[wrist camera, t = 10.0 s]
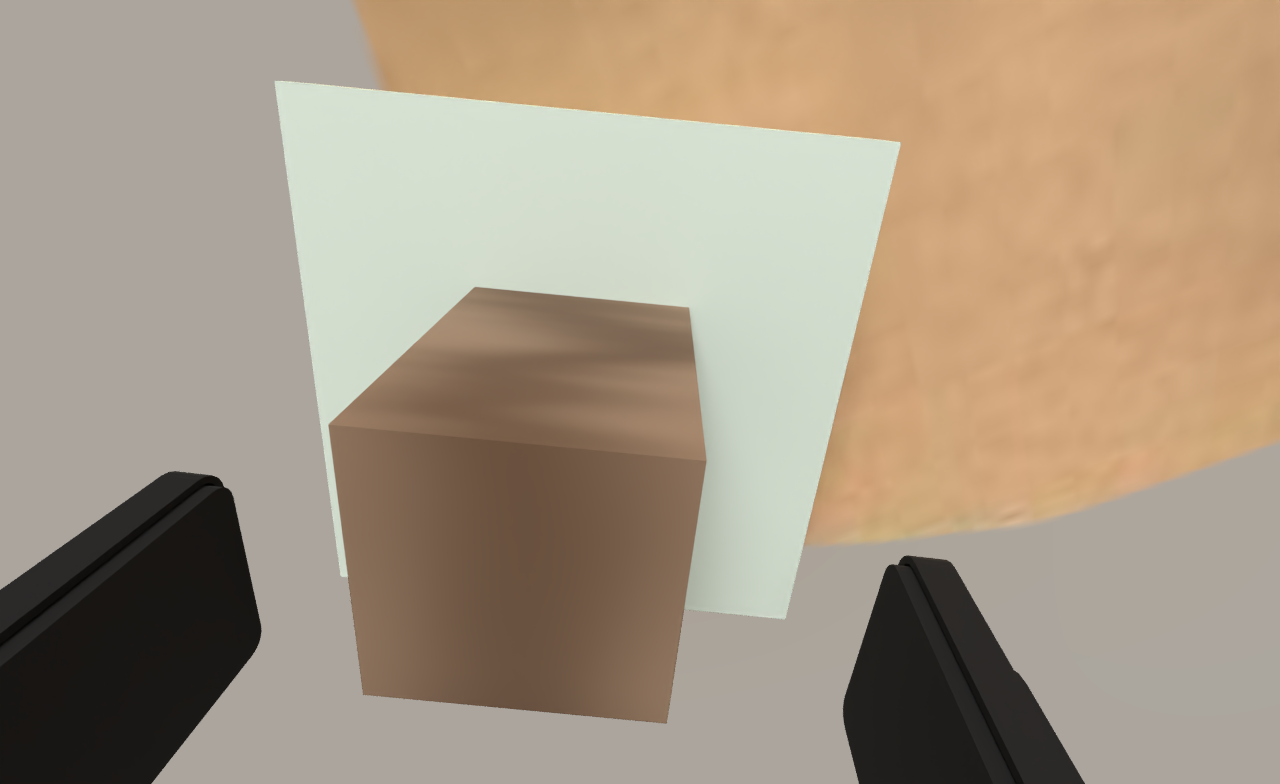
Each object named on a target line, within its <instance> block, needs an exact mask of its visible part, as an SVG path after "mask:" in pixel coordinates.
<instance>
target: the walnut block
mask: <svg viewBox="0 0 1280 784" xmlns="http://www.w3.org/2000/svg"><path fill="white" fill-rule="evenodd" d="M328 427H329V435H330V442H331V450H332V458H333V465H334V473H335V481H336V489H337V496H338V504H339V512H340V519H341V527H342V535H343V543H344V550H345V558H346V566H347V574H348V581H349V589H350V596H351V604H352V612H353V619H354V627H355V635H356V642H357V651H358V659H359V666H360V674H361V682H362V689H363V695H373V696H383V697H393V698H404V699H414V700H425V701H435V702H446V703H457V704H467V705H477V706H478V705H479V706H488V707H498V708H510V709H520V710H530V711H540V712H541V711H542V712H551V713H562V714H572V715H583V716H593V717H604V718H614V719H625V720H635V721H646V722H656V723H667V717H668V711H669V705H670V698H671V692H672V685H673V678H674V672H675V664H676V659H677V652H678V645H679V639H680V633H681V626H682V619H683V613H684V606H685V600H686V593H687V587H688V580H689V573H690V567H691V560H692V554H693V547H694V541H695V534H696V528H697V521H698V514H699V508H700V501H701V495H702V488H703V482H704V475H705V469H706V462H707V459H706V451H705V442H704V433H703V425H702V416H701V407H700V398H699V390H698V381H697V372H696V364H695V355H694V346H693V337H692V329H691V320H690V311H689V307H679V306H669V305H658V304H648V303H638V302H627V301H617V300H606V299H596V298H586V297H575V296H565V295H555V294H544V293H534V292H524V291H513V290H503V289H492V288H482V287H474V288H473V289H472V290H471V291H470V292H469V293H468V294H467V295H465V296H464V297H463V298H462V299H461V300H460V301H459V302H458V303H457V304H456V305H455V306H454V307H453V308H452V309H451V310H450V311H448V312H447V313H446V314H445V315H444V316H443V317H442V318H441V319H440V320H439V321H438V322H437V323H436V324H435V325H434V326H433V327H431V328H430V329H429V330H428V331H427V332H426V333H425V334H424V335H423V336H422V337H421V338H420V339H419V340H418V341H417V342H416V343H414V344H413V345H412V346H411V347H410V348H409V349H408V350H407V351H406V352H405V353H404V354H403V355H402V356H401V357H400V358H398V359H397V360H396V361H395V362H394V363H393V364H392V365H391V366H390V367H389V368H388V369H387V370H386V371H385V372H384V373H383V374H381V375H380V376H379V377H378V378H377V379H376V380H375V381H374V382H373V383H372V384H371V385H370V386H369V387H368V388H367V389H366V390H364V391H363V392H362V393H361V394H360V395H359V396H358V397H357V398H356V399H355V400H354V401H353V402H352V403H351V404H350V405H349V406H347V407H346V408H345V409H344V410H343V411H342V412H341V413H340V414H339V415H338V416H337V417H336V418H335V419H334V420H333V421H332V422H330V423H329V424H328Z"/></svg>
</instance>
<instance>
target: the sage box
mask: <svg viewBox="0 0 1280 784" xmlns="http://www.w3.org/2000/svg"><path fill="white" fill-rule="evenodd" d="M275 88H276V94H277V103H278V110H279V118H280V125H281V132H282V140H283V148H284V155H285V163H286V170H287V178H288V185H289V192H290V200H291V207H292V215H293V223H294V230H295V237H296V245H297V253H298V260H299V268H300V275H301V283H302V290H303V298H304V305H305V313H306V320H307V327H308V335H309V343H310V350H311V358H312V365H313V372H314V380H315V388H316V395H317V403H318V410H319V417H320V425H321V431H322V440H323V447H324V455H325V463H326V470H327V476H328V485H329V492H330V499H331V508H332V515H333V522H334V530H335V538H336V545H337V552H338V560H339V567H340V575H341V576H342V577H348V574H347V566H346V558H345V550H344V543H343V535H342V527H341V519H340V512H339V504H338V496H337V489H336V481H335V473H334V465H333V458H332V450H331V442H330V435H329V427H328V424H329V423H330V422H332V421H333V420H334V419H335V418H336V417H337V416H338V415H339V414H340V413H341V412H342V411H343V410H344V409H345V408H346V407H347V406H349V405H350V404H351V403H352V402H353V401H354V400H355V399H356V398H357V397H358V396H359V395H360V394H361V393H362V392H363V391H364V390H366V389H367V388H368V387H369V386H370V385H371V384H372V383H373V382H374V381H375V380H376V379H377V378H378V377H379V376H380V375H381V374H383V373H384V372H385V371H386V370H387V369H388V368H389V367H390V366H391V365H392V364H393V363H394V362H395V361H396V360H397V359H398V358H400V357H401V356H402V355H403V354H404V353H405V352H406V351H407V350H408V349H409V348H410V347H411V346H412V345H413V344H414V343H416V342H417V341H418V340H419V339H420V338H421V337H422V336H423V335H424V334H425V333H426V332H427V331H428V330H429V329H430V328H431V327H433V326H434V325H435V324H436V323H437V322H438V321H439V320H440V319H441V318H442V317H443V316H444V315H445V314H446V313H447V312H448V311H450V310H451V309H452V308H453V307H454V306H455V305H456V304H457V303H458V302H459V301H460V300H461V299H462V298H463V297H464V296H465V295H467V294H468V293H469V292H470V291H471V290H472V289H473V288H474V287H482V288H492V289H503V290H513V291H524V292H534V293H544V294H555V295H565V296H575V297H586V298H596V299H606V300H617V301H627V302H638V303H648V304H658V305H669V306H679V307H689V311H690V320H691V329H692V337H693V346H694V355H695V364H696V372H697V381H698V390H699V398H700V407H701V416H702V425H703V433H704V442H705V451H706V459H707V462H706V469H705V475H704V482H703V488H702V495H701V501H700V508H699V514H698V521H697V528H696V534H695V541H694V547H693V554H692V560H691V567H690V573H689V580H688V587H687V593H686V600H685V606H684V610H693V611H703V612H713V613H724V614H734V615H745V616H755V617H765V618H775V619H786V614H787V610H788V606H789V602H790V598H791V594H792V590H793V586H794V582H795V577H796V573H797V569H798V565H799V560H800V557H801V552H802V549H803V544H804V540H805V536H806V532H807V528H808V524H809V520H810V516H811V511H812V507H813V503H814V499H815V495H816V491H817V487H818V483H819V479H820V474H821V470H822V466H823V462H824V458H825V454H826V450H827V446H828V441H829V437H830V433H831V429H832V425H833V421H834V417H835V413H836V408H837V404H838V400H839V396H840V392H841V388H842V384H843V380H844V375H845V371H846V367H847V363H848V359H849V355H850V351H851V347H852V342H853V338H854V334H855V330H856V326H857V322H858V318H859V314H860V310H861V305H862V301H863V297H864V293H865V289H866V285H867V281H868V277H869V272H870V268H871V264H872V260H873V256H874V252H875V248H876V244H877V239H878V235H879V231H880V227H881V223H882V219H883V215H884V211H885V206H886V202H887V198H888V194H889V190H890V186H891V182H892V178H893V174H894V169H895V165H896V161H897V157H898V153H899V149H900V145H901V142H894V141H888V140H879V139H868V138H858V137H848V136H838V135H828V134H818V133H808V132H798V131H787V130H777V129H767V128H757V127H747V126H737V125H727V124H717V123H706V122H696V121H686V120H676V119H666V118H656V117H646V116H636V115H625V114H615V113H605V112H595V111H585V110H575V109H565V108H555V107H544V106H534V105H524V104H514V103H504V102H494V101H484V100H474V99H464V98H453V97H443V96H433V95H423V94H413V93H403V92H393V91H383V90H372V89H362V88H352V87H342V86H332V85H322V84H311V83H302V82H286V81H275Z"/></svg>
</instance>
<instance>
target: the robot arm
mask: <svg viewBox="0 0 1280 784" xmlns="http://www.w3.org/2000/svg"><path fill="white" fill-rule="evenodd" d="M260 637H261V623H260V619H259V614H258V609H257V605H256V600H255V596H254V591H253V587H252V582H251V577H250V573H249V568H248V563H247V558H246V554H245V549H244V545H243V540H242V536H241V531H240V526H239V522H238V517H237V513H236V507H235V503H234V498H233V495H232V493H231V491H230V490H229V489H227V488H225V487H224V486H223V483H222V482H221V480H220V479H219V478H217V477H215V476H212V475H203V474H194V473H186V472H176V471H174V472H168V473H166V474H164V475H162V476H160V477H159V478H158V479H156V480H155V481H154V482H152V483H150V484H149V485H148V486H146V487H145V488H144V489H142V490H141V491H139V492H138V493H137V494H135V495H134V496H132V497H131V498H129V499H128V500H127V501H125V502H124V503H122V504H121V505H120V506H118V507H117V508H115V509H114V510H112V511H111V512H110V513H108V514H107V515H105V516H104V517H103V518H101V519H100V520H98V521H97V522H96V523H94V524H93V525H91V526H90V527H89V528H87V529H86V530H84V531H83V532H81V533H80V534H79V535H77V536H76V537H75V538H73V539H72V540H70V541H69V542H67V543H66V544H64V545H63V546H62V547H60V548H59V549H57V550H56V551H55V552H53V553H52V554H50V555H49V556H48V557H46V558H45V559H43V560H42V561H41V562H39V563H38V564H37V565H35V566H34V567H32V568H31V569H29V570H28V571H27V572H25V573H24V574H22V575H21V576H20V577H18V578H17V579H15V580H14V581H12V582H11V583H10V584H8V585H7V586H5V587H4V588H2V589H1V590H0V784H151V783H152V782H153V781H154V780H155V778H156V777H157V776H158V775H159V773H160V772H161V771H162V769H163V768H164V767H165V766H166V764H167V763H168V762H169V760H170V759H171V758H172V757H173V755H174V754H175V753H176V752H177V750H178V749H179V748H180V746H181V745H182V744H183V743H184V741H185V740H186V739H187V738H188V736H189V735H190V734H191V733H192V731H193V730H194V729H195V727H196V726H197V725H198V724H199V722H200V721H201V720H202V719H203V717H204V716H205V715H206V713H207V712H208V711H209V710H210V708H211V707H212V706H213V705H214V703H215V702H216V701H217V700H218V698H219V697H220V696H221V694H222V693H223V692H224V691H225V689H226V688H227V687H228V686H229V684H230V683H231V682H232V680H233V679H234V678H235V677H236V675H237V674H238V673H239V672H240V670H241V669H242V668H243V666H244V665H245V664H246V663H247V661H248V660H249V659H250V658H251V656H252V655H253V653H254V652H255V650H256V648H257V646H258V644H259V641H260ZM843 717H844V725H845V730H846V734H847V738H848V741H849V746H850V750H851V754H852V757H853V761H854V765H855V769H856V773H857V777H858V781H859V784H1085V783H1084V781H1083V780H1082V778H1081V776H1080V775H1079V773H1078V771H1077V769H1076V768H1075V766H1074V764H1073V763H1072V761H1071V759H1070V758H1069V756H1068V754H1067V752H1066V751H1065V749H1064V747H1063V745H1062V744H1061V742H1060V740H1059V739H1058V737H1057V735H1056V733H1055V732H1054V730H1053V728H1052V727H1051V725H1050V723H1049V721H1048V720H1047V718H1046V716H1045V715H1044V713H1043V712H1042V709H1041V708H1040V706H1039V704H1038V703H1037V701H1036V699H1035V698H1034V696H1033V694H1032V692H1031V691H1030V689H1029V687H1028V686H1027V684H1026V683H1025V681H1024V680H1023V679H1022V677H1021V676H1020V675H1019V674H1018V673H1017V672H1016V671H1014V670H1013V668H1012V666H1011V664H1010V663H1009V661H1008V659H1007V658H1006V656H1005V654H1004V652H1003V650H1002V649H1001V647H1000V645H999V644H998V642H997V641H996V639H995V637H994V635H993V633H992V631H991V630H990V628H989V626H988V624H987V623H986V621H985V620H984V617H983V616H982V614H981V612H980V611H979V609H978V607H977V605H976V604H975V602H974V600H973V599H972V597H971V595H970V593H969V591H968V590H967V588H966V587H965V584H964V583H963V581H962V579H961V578H960V576H959V574H958V572H957V571H956V569H955V567H954V566H953V565H952V563H951V562H949V561H947V560H942V559H933V558H924V557H916V556H904V557H903V558H902V559H901V560H900V562H899V564H898V565H889V566H888V567H887V569H886V571H885V573H884V576H883V579H882V582H881V585H880V589H879V592H878V595H877V598H876V601H875V604H874V607H873V610H872V614H871V617H870V620H869V623H868V626H867V629H866V632H865V635H864V638H863V642H862V645H861V648H860V651H859V654H858V657H857V661H856V664H855V667H854V670H853V673H852V676H851V679H850V683H849V685H848V689H847V692H846V695H845V698H844V705H843Z"/></svg>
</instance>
